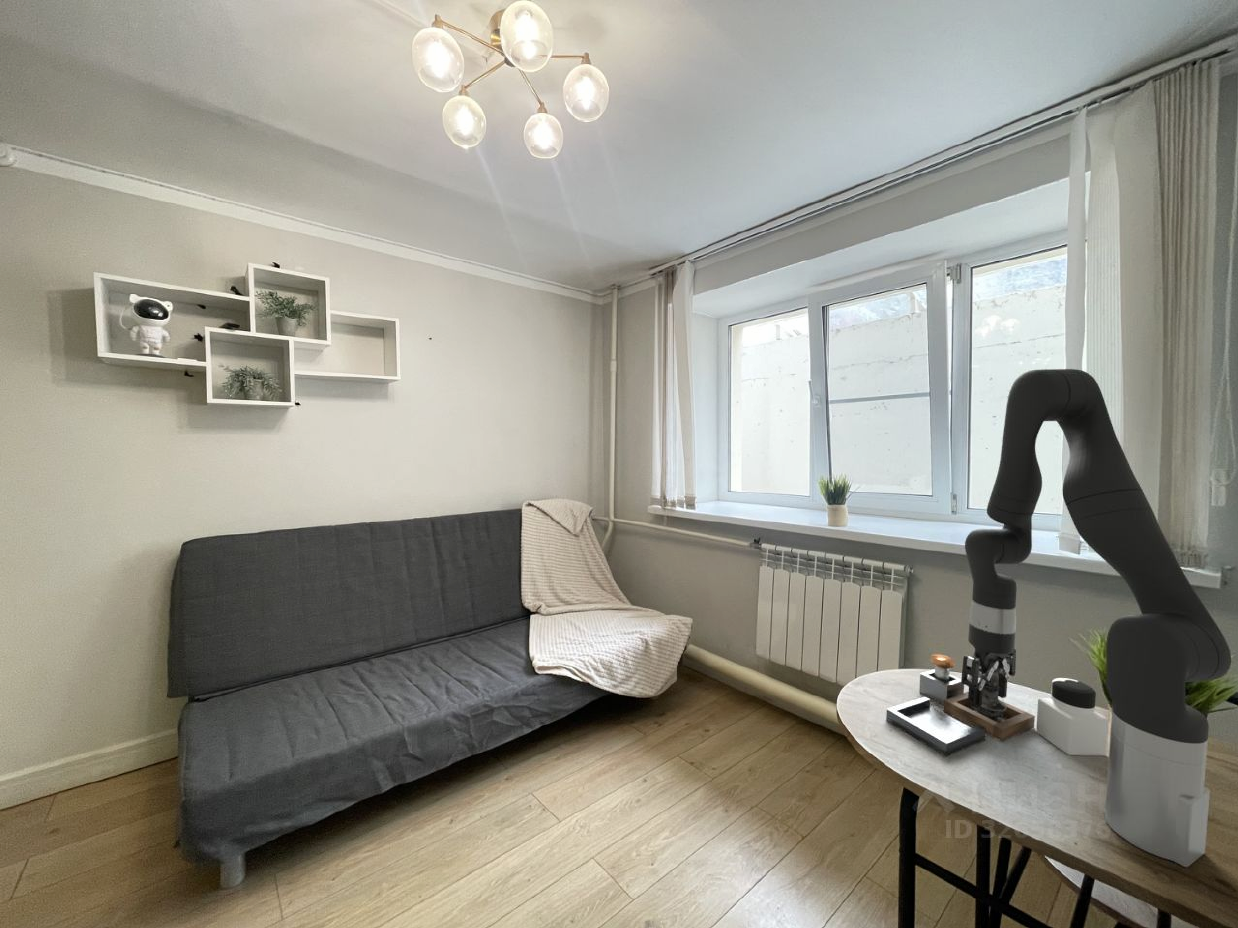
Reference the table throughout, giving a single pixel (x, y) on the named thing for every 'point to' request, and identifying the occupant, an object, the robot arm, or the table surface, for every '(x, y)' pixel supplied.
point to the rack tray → (934, 727)
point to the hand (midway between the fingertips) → (987, 700)
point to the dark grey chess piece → (991, 700)
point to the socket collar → (1002, 731)
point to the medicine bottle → (1072, 719)
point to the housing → (939, 687)
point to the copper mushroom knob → (942, 666)
